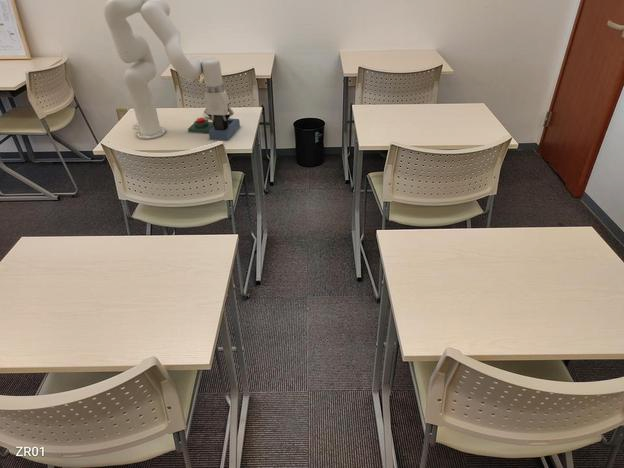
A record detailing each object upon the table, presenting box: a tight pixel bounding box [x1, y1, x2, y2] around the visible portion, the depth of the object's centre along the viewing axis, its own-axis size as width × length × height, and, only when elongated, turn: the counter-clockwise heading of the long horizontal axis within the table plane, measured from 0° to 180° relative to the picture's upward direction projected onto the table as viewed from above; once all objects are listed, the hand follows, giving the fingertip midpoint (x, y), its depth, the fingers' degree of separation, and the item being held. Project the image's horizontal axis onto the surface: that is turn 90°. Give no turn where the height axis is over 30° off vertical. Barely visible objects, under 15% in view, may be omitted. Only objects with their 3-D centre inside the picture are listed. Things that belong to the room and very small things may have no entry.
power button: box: [196, 117, 206, 124], centre depth 227 cm, size 4×4×2 cm
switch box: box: [187, 118, 214, 134], centre depth 228 cm, size 10×9×4 cm
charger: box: [214, 115, 225, 130], centre depth 217 cm, size 4×4×10 cm
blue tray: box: [208, 117, 241, 142], centre depth 223 cm, size 9×16×4 cm, turn 166°
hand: (221, 127), depth 219 cm, fingers closed on charger, 4 cm apart
